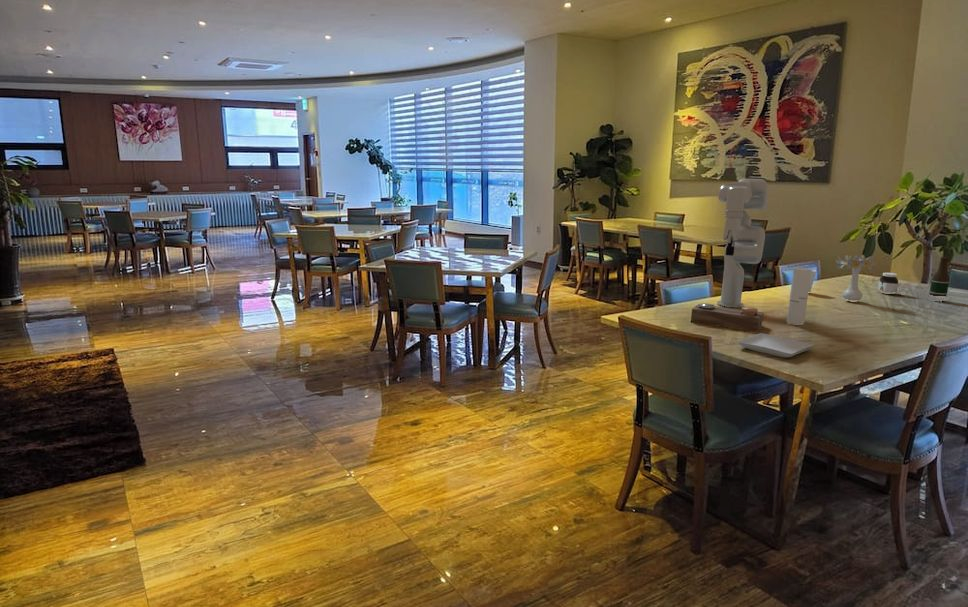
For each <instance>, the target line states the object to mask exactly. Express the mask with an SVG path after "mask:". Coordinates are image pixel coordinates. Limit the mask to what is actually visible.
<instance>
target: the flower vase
mask: <svg viewBox="0 0 968 607" xmlns="http://www.w3.org/2000/svg"><path fill="white" fill-rule="evenodd" d="M851 257H852V256H851V255H849V256H848V254H846V255H845V257H844V260H842V259H841V257H840V256H837V259H835V264H838V265H837V267H836V270H839V269H840V270H842V268H843V267H845V266H846V269H847V270H852V275H851V280H850V283H849V286H848V287H847V288H846V289H845V290H844V291H843V292H842V294H841V296H842V298H843V299H844V298H845V299H848V300H858V301H860V300H861V299H863V296H864V295H863V293H862V292H861V290H860V289H859V276H860V272H861V269H862V268H866V269H867V268H868V269H869V270H870V271H872V270H873V267H874V266H877V263H876V262H874V261H872V259H873V257H872V256H871V255H870V256H868V257H867V258H866V256H865V255H864V254H861V258H859V257H858V254H855V255H854V257H853V258H851ZM845 299H844V300H845Z"/></svg>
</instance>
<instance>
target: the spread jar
mask: <svg viewBox="0 0 968 607" xmlns="http://www.w3.org/2000/svg"><path fill="white" fill-rule="evenodd" d="M898 289H899V290H898ZM878 290H880V291H884V292H896V293H897V292H898V291H899V293H900V292H903V293H904V291H903V287H902V283H901V282H900V283H899V280H898V274H897V273H894V272H882V276H881V277H879V280H878V286H877V291H878Z"/></svg>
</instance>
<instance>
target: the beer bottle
mask: <svg viewBox="0 0 968 607" xmlns="http://www.w3.org/2000/svg"><path fill="white" fill-rule="evenodd" d="M949 259H950V258H949V257H948V256H941V257H940V261H939V265H938V267H937V268H938V269H937V271H936V272H935V273H934V274H933V276H932V277H931V281H930V288H929V291H928V292H929V293H928V295H929V294H930V295H933V296H946V297H947V296H948V290H949V284H950V275H949V274H948V262H949Z"/></svg>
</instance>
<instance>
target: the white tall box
mask: <svg viewBox="0 0 968 607" xmlns="http://www.w3.org/2000/svg"><path fill="white" fill-rule="evenodd" d="M812 270H813V269H812ZM812 270H811V268H805V267H793V271H792V277H791V278H792V279H791V286H790V292H789V299H788V307H787V315H786V316H787V317H786V322H787V323H788V324H787V323H786V324H787V325H789V324H793V325H792V326H794V325H802V324H804V325H805V319H806V312H807V305H808V299H809V294H808V292H809V285H810V278H811V271H812Z"/></svg>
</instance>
